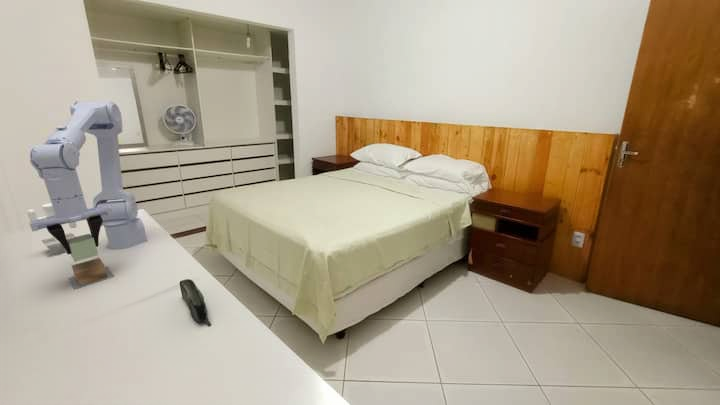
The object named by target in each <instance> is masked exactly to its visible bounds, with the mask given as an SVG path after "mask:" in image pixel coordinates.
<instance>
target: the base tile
mask: <svg viewBox="0 0 720 405" xmlns="http://www.w3.org/2000/svg"><path fill="white" fill-rule="evenodd" d="M105 269H106V272H107V276H108V277H105V278H102V279H99V280H96V281H93V282H90V283H87V284H84V285H81V286H79V284H78V282H77V280H76V278H75V275H73V276H71V277H68V278H67V279H68V281H69V283H70V285H71V287H72V289H73V291H75V290H79V289H81V288H85V287H87V286H90V285H94V284H97V283H99V282H102V281H105V280H109V279H112V278H114V277H115V274H114V273H113V272H112V271H111V269H110V268H109V267H108V266H106V265H105Z"/></svg>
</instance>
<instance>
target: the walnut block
mask: <svg viewBox="0 0 720 405" xmlns="http://www.w3.org/2000/svg"><path fill="white" fill-rule="evenodd" d="M105 267H106V265H105V263H104V262H103V261H102V259H101V258H100V257H95V258H92V259H90V260H87V261H82V262H79V263H76V264H73V265H71V268H72V271H73V276H75V278H76V280H77V282H78V284H79V286H81V285H84V284H87V283H90V282H93V281H96V280H99V279H102V278H105V277H108V276H107V272H106V269H105Z"/></svg>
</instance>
